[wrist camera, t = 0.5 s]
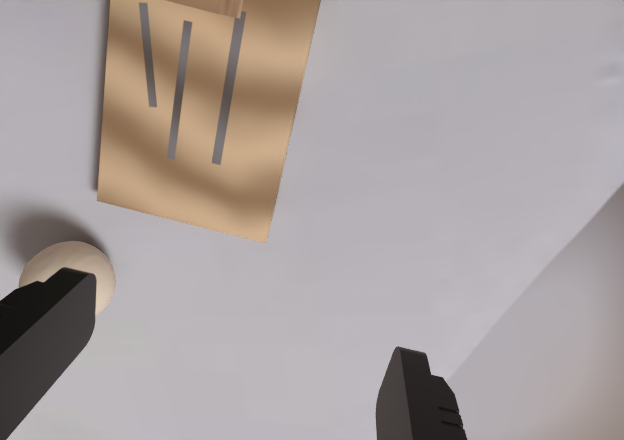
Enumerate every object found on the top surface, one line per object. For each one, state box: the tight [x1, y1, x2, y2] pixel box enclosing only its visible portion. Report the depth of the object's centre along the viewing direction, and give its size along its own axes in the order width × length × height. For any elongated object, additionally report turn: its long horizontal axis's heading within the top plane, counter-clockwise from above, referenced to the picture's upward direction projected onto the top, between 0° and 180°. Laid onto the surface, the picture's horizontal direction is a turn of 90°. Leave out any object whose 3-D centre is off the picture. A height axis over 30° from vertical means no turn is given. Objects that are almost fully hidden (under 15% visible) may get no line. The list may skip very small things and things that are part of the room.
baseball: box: [19, 241, 116, 316], centre depth 38 cm, size 7×7×7 cm
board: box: [97, 0, 321, 243], centre depth 33 cm, size 24×14×1 cm, turn 166°
